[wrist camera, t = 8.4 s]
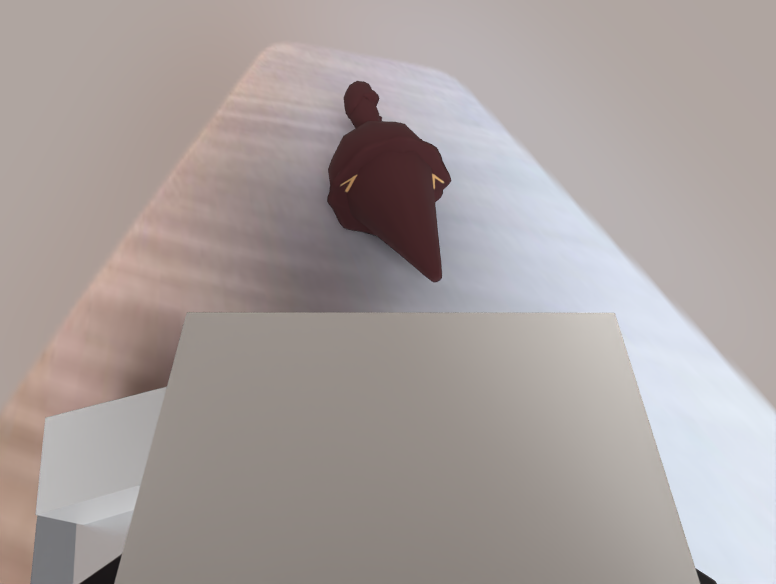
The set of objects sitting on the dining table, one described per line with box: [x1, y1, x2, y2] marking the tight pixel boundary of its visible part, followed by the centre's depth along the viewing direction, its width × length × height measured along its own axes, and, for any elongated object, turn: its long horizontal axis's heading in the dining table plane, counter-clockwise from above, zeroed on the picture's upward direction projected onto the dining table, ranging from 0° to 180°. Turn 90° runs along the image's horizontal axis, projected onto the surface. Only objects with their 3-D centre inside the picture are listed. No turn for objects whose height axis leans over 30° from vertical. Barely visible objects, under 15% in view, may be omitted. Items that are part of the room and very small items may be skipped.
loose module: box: [114, 312, 700, 584], centre depth 9 cm, size 5×4×12 cm
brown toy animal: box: [327, 81, 451, 282], centre depth 27 cm, size 7×7×15 cm
